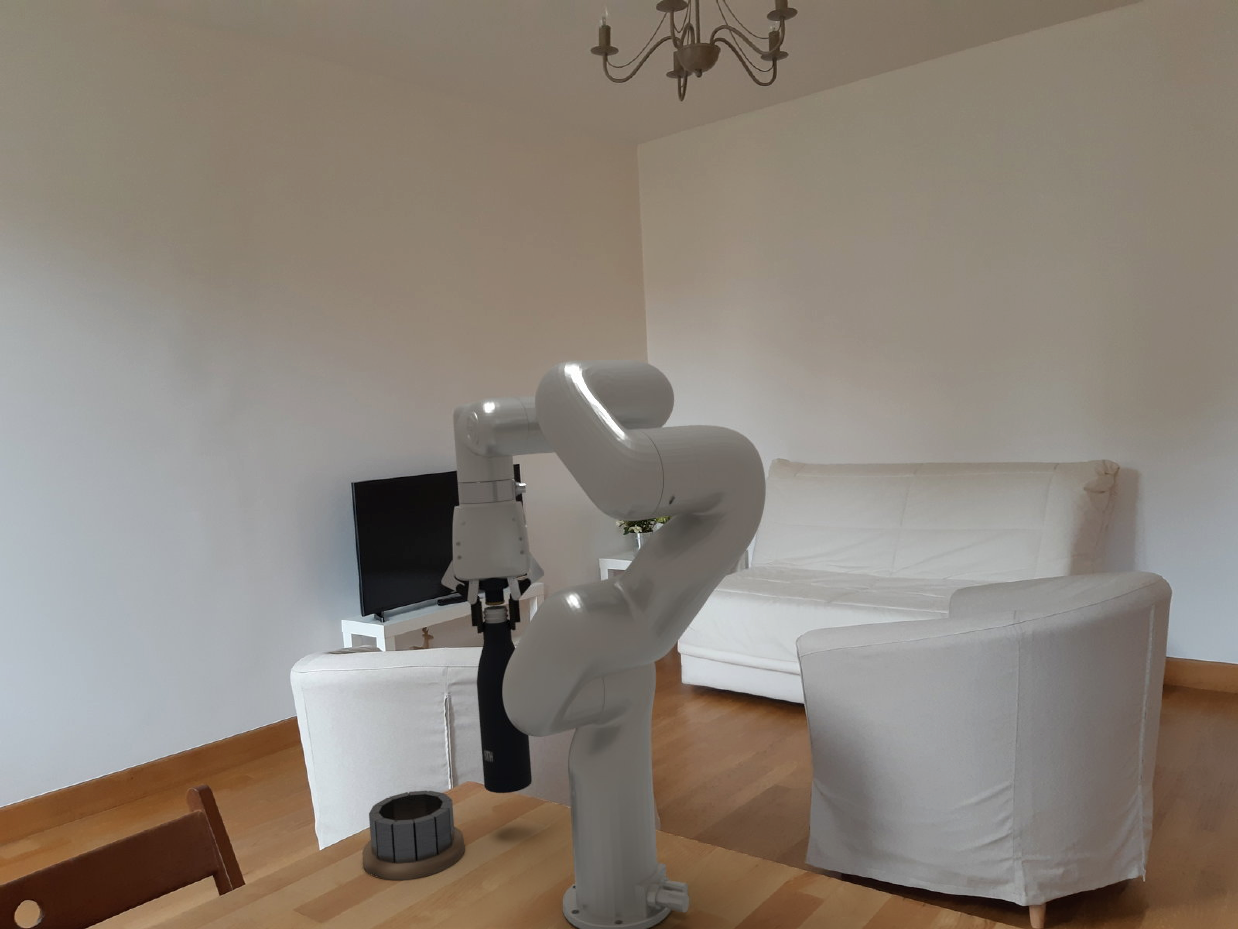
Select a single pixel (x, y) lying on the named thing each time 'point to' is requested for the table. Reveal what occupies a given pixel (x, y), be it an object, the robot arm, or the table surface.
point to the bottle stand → (412, 836)
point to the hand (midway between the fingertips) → (496, 628)
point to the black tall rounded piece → (499, 700)
